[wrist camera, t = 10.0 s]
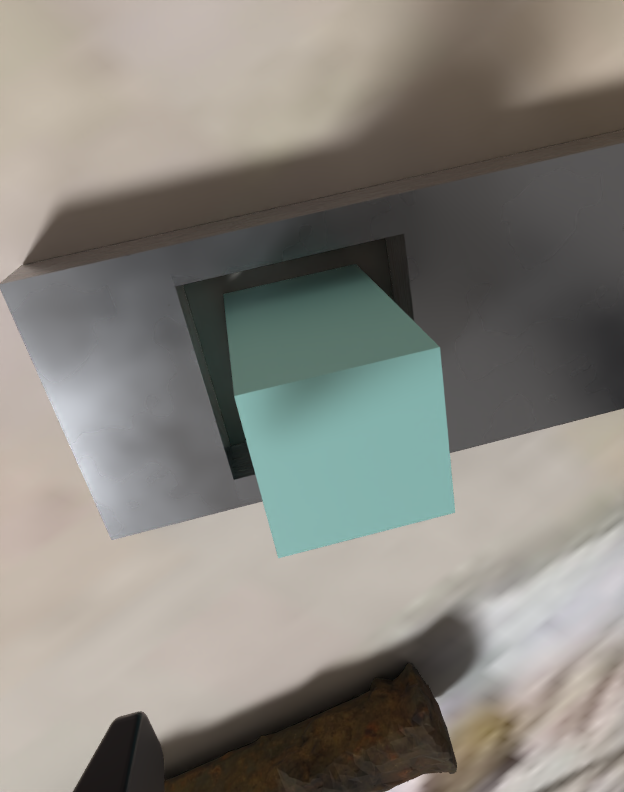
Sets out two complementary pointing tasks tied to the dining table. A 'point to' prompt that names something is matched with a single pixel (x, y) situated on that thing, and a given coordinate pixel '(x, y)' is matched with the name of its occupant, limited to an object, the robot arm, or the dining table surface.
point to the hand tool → (340, 747)
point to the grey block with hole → (412, 291)
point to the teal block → (338, 408)
